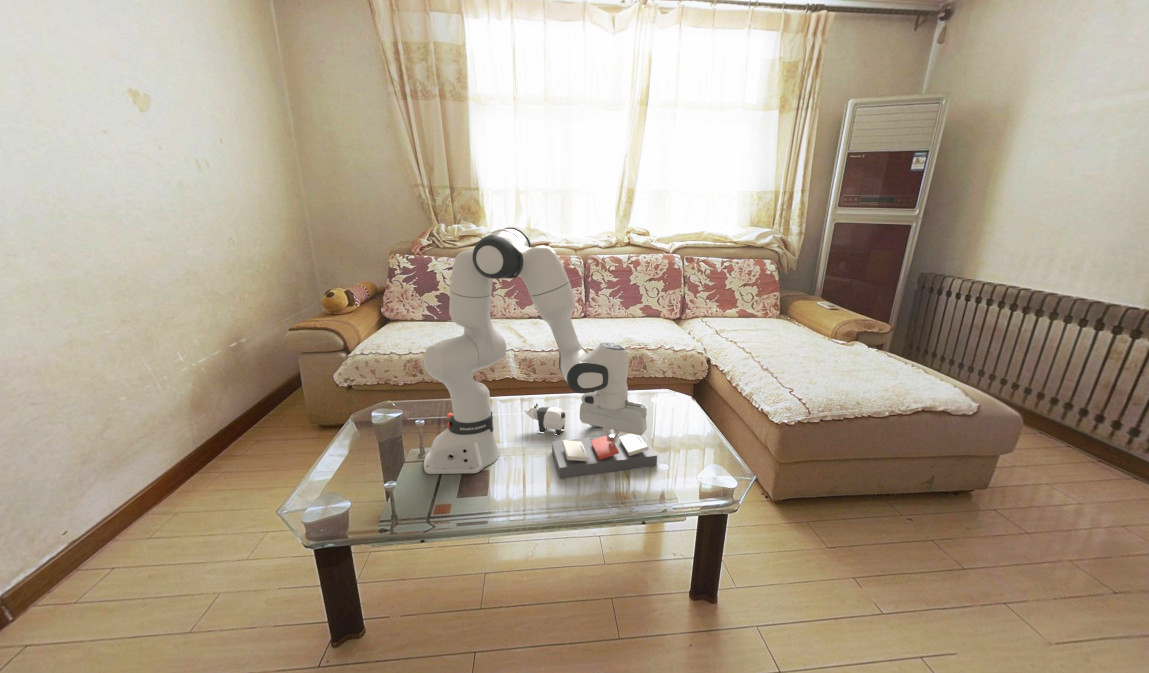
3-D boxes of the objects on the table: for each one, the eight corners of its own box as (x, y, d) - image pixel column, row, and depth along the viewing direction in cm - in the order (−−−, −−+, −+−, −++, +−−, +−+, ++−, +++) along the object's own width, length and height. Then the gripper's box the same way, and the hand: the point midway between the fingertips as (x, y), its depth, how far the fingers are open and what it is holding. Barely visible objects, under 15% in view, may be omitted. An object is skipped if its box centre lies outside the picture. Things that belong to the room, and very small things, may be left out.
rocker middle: (599, 459, 120) (598, 456, 120) (591, 443, 129) (590, 440, 129) (618, 453, 121) (618, 449, 121) (609, 437, 130) (608, 434, 130)
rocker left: (567, 459, 118) (568, 455, 118) (561, 443, 127) (562, 439, 127) (587, 461, 120) (588, 457, 119) (580, 444, 129) (581, 441, 128)
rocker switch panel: (559, 478, 118) (559, 465, 117) (552, 451, 133) (551, 439, 131) (656, 466, 124) (657, 453, 123) (639, 441, 138) (639, 429, 137)
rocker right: (629, 456, 122) (628, 452, 121) (619, 440, 131) (618, 436, 131) (648, 449, 123) (647, 446, 122) (637, 434, 132) (636, 431, 131)
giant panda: (568, 429, 147) (567, 404, 145) (562, 437, 142) (562, 411, 139) (529, 424, 151) (528, 400, 149) (523, 431, 146) (521, 406, 144)
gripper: (650, 400, 119) (649, 444, 122) (586, 388, 129) (587, 429, 132) (642, 408, 114) (641, 454, 117) (576, 395, 123) (577, 438, 127)
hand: (612, 441), depth 125 cm, fingers closed
